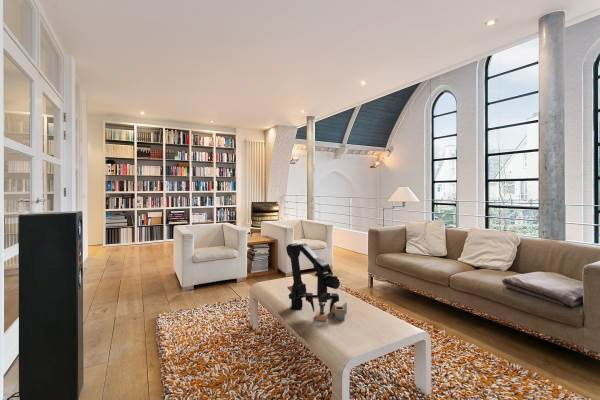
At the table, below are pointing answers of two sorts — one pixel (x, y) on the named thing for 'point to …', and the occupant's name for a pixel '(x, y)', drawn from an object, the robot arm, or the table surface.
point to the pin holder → (321, 316)
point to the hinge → (339, 312)
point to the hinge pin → (321, 308)
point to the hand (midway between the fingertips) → (321, 311)
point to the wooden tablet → (291, 291)
